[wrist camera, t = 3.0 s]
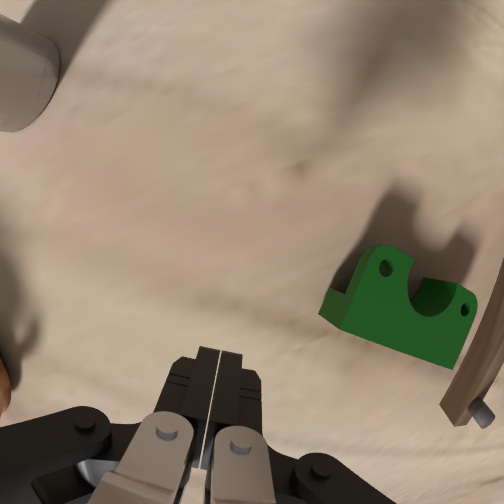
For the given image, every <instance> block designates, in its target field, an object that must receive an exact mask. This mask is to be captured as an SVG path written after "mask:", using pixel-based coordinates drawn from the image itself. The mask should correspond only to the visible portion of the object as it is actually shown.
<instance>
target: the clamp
mask: <svg viewBox="0 0 504 504" xmlns="http://www.w3.org/2000/svg"><path fill="white" fill-rule="evenodd" d="M415 260H416V259H414V258H412V257H410V256H408V255H406V254H405V253H403V252H401V251H399V250H397V249H395V248H394V247H391V246H371V247H369V248H367V249H366V250H365V251H364V252H363V253H362V255H361V257H360V259H359V261H358V264H357V266H356V269H355V271H354V274H353V276H352V278H351V281H350V283H349V286H348V288H347V290H346V293H345V294H343V293H341V292H338V291H336V290H334V289H331V288H329V290H328V293H327V295H326V297H325V299H324V302H323V304H322V306H321V308H320V311H319V313H318V314H319V315H320V316H322V317H323V318H325V319H326V320H327V321H329V322H330V323H331V324H333V325H334V326H335V327H337V328H338V329H340V330H343V331H345V332H348V333H351V334H353V335H356V336H359V337H361V338H364V339H367V340H369V341H372V342H375V343H377V344H380V345H383V346H386V347H388V348H391V349H394V350H397V351H400V352H402V353H405V354H408V355H411V356H414V357H417V358H419V359H422V360H425V361H428V362H431V363H434V364H437V365H440V366H443V367H446V368H449V369H452V370H453V368H454V366H455V363H456V361H457V359H458V357H459V355H460V352H461V350H462V348H463V345H464V343H465V341H466V338H467V336H468V333H469V331H470V328H471V326H472V323H473V321H474V318H475V315H476V312H477V298H476V296H475V295H474V293H472V292H471V291H469V290H467V289H466V288H464V287H462V286H461V285H459V284H457V283H452V282H447V281H441V280H435V279H430V278H423V282H422V285H421V288H420V290H419V292H418V293H417V295H416V296H415V297H414V298H413V299H412V300H411V301H409V297H408V292H407V283H408V276H409V273H410V270H411V267H412V265H413V263H414V262H415Z"/></svg>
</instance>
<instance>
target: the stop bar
mask: <svg viewBox="0 0 504 504" xmlns="http://www.w3.org/2000/svg"><path fill="white" fill-rule="evenodd" d="M503 363H504V260H503V263H502V266H501V269H500V272H499V275H498V278H497V281H496V284H495V287H494V290H493V293H492V296H491V298H490V301H489V304H488V306H487V309H486V311H485V314H484V316H483V319H482V321H481V323H480V326H479V328H478V330H477V333H476V335H475V337H474V339H473V342H472V344H471V346H470V348H469V350H468V352H467V354H466V356H465V358H464V360H463V362H462V364H461V366H460V368H459V370H458V372H457V374H456V376H455V378H454V380H453V381H452V383H451V385H450V387H449V389H448V390H447V392H446V394H445V396H444V397H443V399H442V401H441V402H440V404H439V405H440V406H441V408H442V409H443V411H444V412H445V414H446V415H447V417H448V418H449V420H450V421H451V423H452V424H453V426H454V427H455V426H462V425H467V423H468V422H469V420H470V419H471V417H472V416H473V418H474V419H475V420H476V422H477V423H478V424H479V426H480V427H481V428H482V429H483V428H486V427H488V426H489V425H490V424H491V423H492V422H493V420H494V419H495V415H494V413H493V412H492V411H491V410H490V409H489V407H488V406H487V405H486V404H485V402H484V401H483V398H484V397H485V395H486V393H487V392H488V390H489V388H490V387H491V385H492V383H493V381H494V380H495V378H496V376H497V374H498V372H499V370H500V368H501V367H502V365H503Z"/></svg>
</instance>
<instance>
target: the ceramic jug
mask: <svg viewBox="0 0 504 504" xmlns="http://www.w3.org/2000/svg"><path fill="white" fill-rule="evenodd" d="M10 400H11V386H10V381H9V377H8V374H7V371H6V368H5V366H4V364H3V362H2V360H1V358H0V417H1V414H2V413H3V412H5V411H6V409H7V408H8V406H9V404H10Z"/></svg>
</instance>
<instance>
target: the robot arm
mask: <svg viewBox="0 0 504 504" xmlns="http://www.w3.org/2000/svg"><path fill="white" fill-rule="evenodd" d="M59 69H60V58H59V53H58V50H57V48H56V45H55V44H54V43H53V42H52V41H51V40H50V39H48V38H46V37H44V36H42V35H40V34H39V33H37V32H35V31H33V30H31V29H29V28H27V27H25V26H24V25H22V24H20V23H18V22H16V21H13V20H11V19H9V18H7V17H5V16H3V15H1V14H0V131H4V132H15V131H18V130H21V129H23V128H25V127H27V126H28V125H30V124H31V123H32V122H33V121H34V120H35V119H36V118H37V117H38V116H39V115H40V113H41V112H42V111H43V110H44V108H45V106H46V105H47V103H48V102H49V100H50V98H51V96H52V94H53V92H54V89H55V86H56V83H57V80H58V75H59ZM219 354H220V350H217V349H212V348H207V347H202V346H200V347H199V350H198V354H197V357H196V359H192V358H187V357H183V356H182V357H181V358H179V359H178V360H177V361H175V362H174V363H173V364H172V367H171V369H170V372H169V375H168V377H167V379H166V383H165V384H164V387H163V389H162V392H161V394H160V397H159V399H158V402H157V404H156V407H155V410H154V412H153V413H152V414H149V415H148V416H146V417H145V418H144V419H143V421H142V422H140V423H136V424H114V423H110V421H109V419H108V418H107V416H106V415H105V414H104V413H103V412H101V411H99V410H98V409H95V408H92V407H88V406H77V407H73V408H70V409H66V410H63V411H60V412H56V413H53V414H49V415H46V416H42V417H39V418H35V419H31V420H28V421H24V422H20V423H16V424H12V425H8V426H4V427H0V504H181V501H182V498H183V494H184V491H185V488H186V484H187V483H188V481H189V478H190V473H191V467H194V468H198V466H199V461H200V455H201V450H202V445H203V439H204V434H205V429H206V423H207V418H208V413H209V407H210V402H211V396H212V391H213V386H214V380H215V375H216V370H217V364H218V359H219ZM200 469H205V470H207V474H206V481H205V485H204V490H203V504H396V503H395V502H394V501H392V500H391V499H389V498H388V497H386V496H385V495H384V494H382V493H381V492H379V491H378V490H377V489H375V488H374V487H372V486H371V485H370V484H368V483H367V482H366V481H364V480H363V479H362V478H360V477H359V476H358V475H356V474H355V473H354V472H352V471H351V470H350V469H349V468H347V467H346V466H345V465H343V464H342V463H341V462H340V461H338V460H337V459H336V458H334V457H332V456H330V455H327V454H324V453H309V454H306V455H304V456H302V457H301V458H299V460H298V459H295V458H292V457H289V456H286V455H283V454H280V453H278V452H276V451H275V450H273V449H272V448H271V447H270V446H269V445H268V444H267V442H266V440H265V439H264V437H263V435H262V401H261V380H260V378H259V376H258V375H257V373H256V372H255V371H254V370H248V369H242V354H237V353H232V352H227V351H222V353H221V358H220V363H219V368H218V373H217V378H216V384H215V389H214V394H213V400H212V405H211V411H210V416H209V422H208V428H207V433H206V439H205V445H204V450H203V456H202V462H201V468H200Z"/></svg>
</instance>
